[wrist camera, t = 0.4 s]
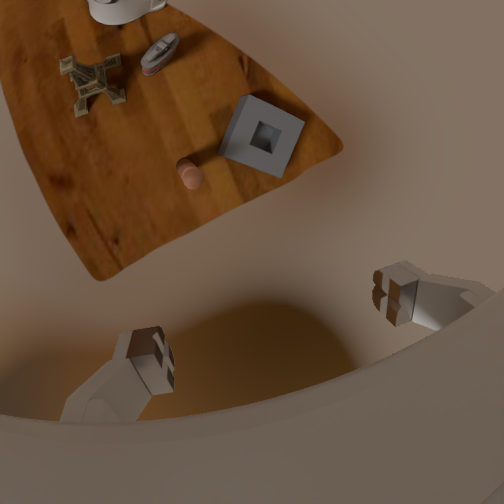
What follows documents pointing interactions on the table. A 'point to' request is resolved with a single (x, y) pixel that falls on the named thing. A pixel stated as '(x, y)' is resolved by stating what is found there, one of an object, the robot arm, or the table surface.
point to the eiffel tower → (91, 81)
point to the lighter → (159, 54)
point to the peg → (190, 174)
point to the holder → (261, 136)
